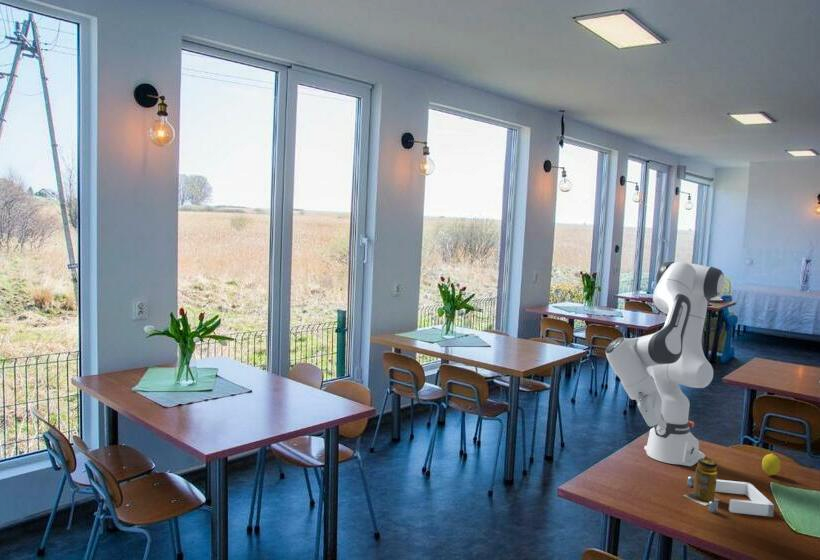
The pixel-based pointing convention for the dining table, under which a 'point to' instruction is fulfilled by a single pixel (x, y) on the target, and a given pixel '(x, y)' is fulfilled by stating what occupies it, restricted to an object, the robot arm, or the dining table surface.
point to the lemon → (771, 464)
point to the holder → (754, 507)
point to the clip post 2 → (713, 507)
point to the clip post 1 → (690, 481)
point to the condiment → (704, 482)
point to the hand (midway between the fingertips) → (664, 427)
